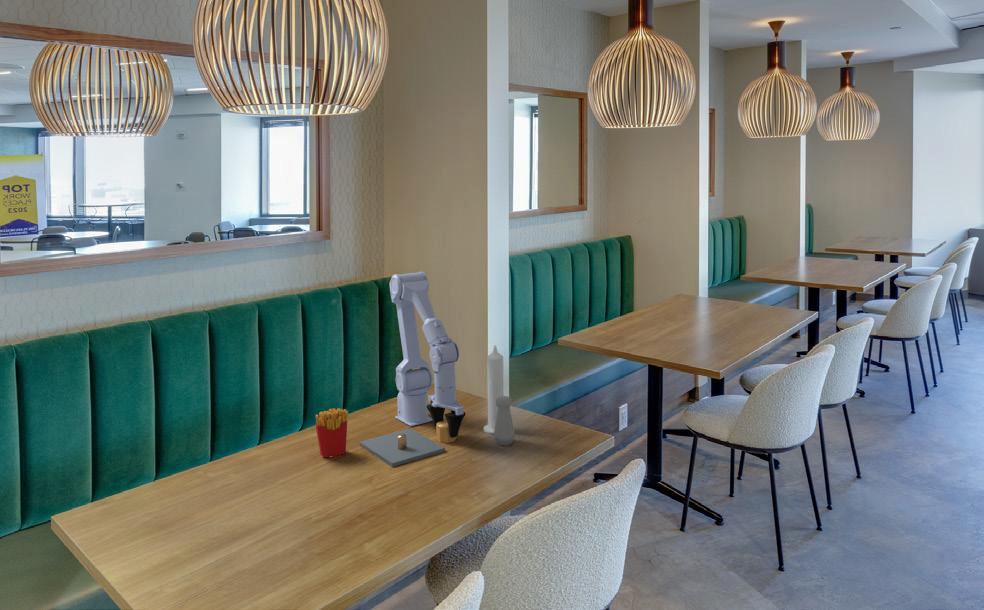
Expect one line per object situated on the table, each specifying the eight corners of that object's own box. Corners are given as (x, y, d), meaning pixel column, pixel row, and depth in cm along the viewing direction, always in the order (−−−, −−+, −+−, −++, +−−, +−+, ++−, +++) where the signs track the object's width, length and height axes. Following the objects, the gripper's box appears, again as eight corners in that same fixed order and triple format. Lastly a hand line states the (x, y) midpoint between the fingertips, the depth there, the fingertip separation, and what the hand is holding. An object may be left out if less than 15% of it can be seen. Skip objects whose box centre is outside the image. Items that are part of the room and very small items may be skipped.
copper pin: (396, 449, 198) (395, 435, 197) (403, 447, 199) (403, 433, 198) (400, 452, 196) (400, 438, 195) (408, 450, 197) (408, 435, 196)
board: (359, 445, 202) (359, 441, 202) (410, 431, 211) (410, 428, 211) (392, 466, 188) (392, 463, 188) (445, 451, 197) (445, 447, 197)
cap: (433, 438, 206) (432, 423, 205) (448, 434, 209) (448, 419, 208) (443, 444, 202) (443, 428, 201) (459, 439, 205) (459, 424, 204)
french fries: (320, 459, 193) (317, 415, 191) (316, 454, 196) (313, 411, 194) (351, 453, 197) (349, 410, 194) (347, 448, 200) (345, 405, 198)
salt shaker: (514, 446, 200) (514, 400, 197) (493, 446, 200) (493, 400, 197) (514, 438, 206) (514, 393, 203) (493, 438, 206) (493, 393, 203)
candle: (479, 427, 214) (478, 343, 209) (501, 423, 217) (501, 340, 212) (489, 436, 208) (488, 349, 203) (512, 431, 211) (512, 346, 205)
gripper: (418, 382, 206) (420, 428, 209) (447, 395, 195) (448, 444, 197) (439, 377, 210) (441, 423, 213) (469, 389, 199) (470, 437, 201)
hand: (446, 432), depth 205 cm, fingers open, 7 cm apart
